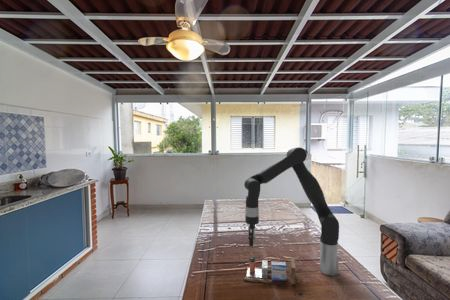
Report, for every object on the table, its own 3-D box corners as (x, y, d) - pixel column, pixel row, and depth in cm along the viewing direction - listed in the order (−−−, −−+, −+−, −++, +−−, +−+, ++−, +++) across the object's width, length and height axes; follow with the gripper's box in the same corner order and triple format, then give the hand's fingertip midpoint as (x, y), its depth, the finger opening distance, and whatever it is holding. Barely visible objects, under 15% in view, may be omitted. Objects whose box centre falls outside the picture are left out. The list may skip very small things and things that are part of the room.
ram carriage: (267, 271, 139) (267, 255, 138) (267, 280, 130) (267, 263, 130) (247, 269, 141) (247, 254, 140) (246, 278, 133) (246, 261, 132)
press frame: (293, 272, 138) (293, 257, 137) (295, 285, 126) (295, 268, 126) (246, 268, 143) (246, 253, 142) (244, 280, 131) (243, 264, 131)
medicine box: (271, 280, 131) (271, 265, 130) (271, 275, 135) (270, 260, 135) (286, 281, 130) (286, 265, 130) (285, 276, 135) (285, 261, 134)
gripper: (258, 219, 127) (257, 249, 128) (259, 210, 141) (259, 238, 142) (243, 218, 128) (243, 247, 129) (246, 210, 142) (246, 237, 143)
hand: (251, 242), depth 136 cm, fingers open, 8 cm apart
